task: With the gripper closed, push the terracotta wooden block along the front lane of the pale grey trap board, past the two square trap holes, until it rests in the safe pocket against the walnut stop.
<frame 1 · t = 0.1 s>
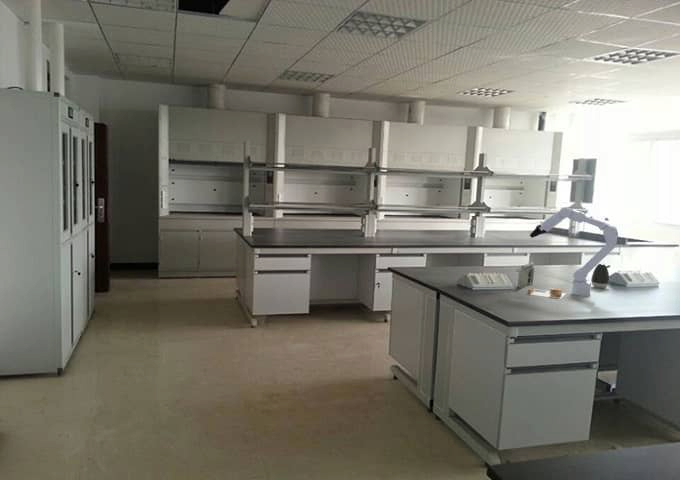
hand: (532, 236, 311), 32 cm above the countertop, tool tilted 50°, fingers open, 7 cm apart
block: (555, 296, 292), point 1 cm above the countertop, touching trap board
geiger counter: (525, 285, 329), on the countertop
trap board: (546, 296, 298), on the countertop
potted cactus: (599, 288, 330), on the countertop
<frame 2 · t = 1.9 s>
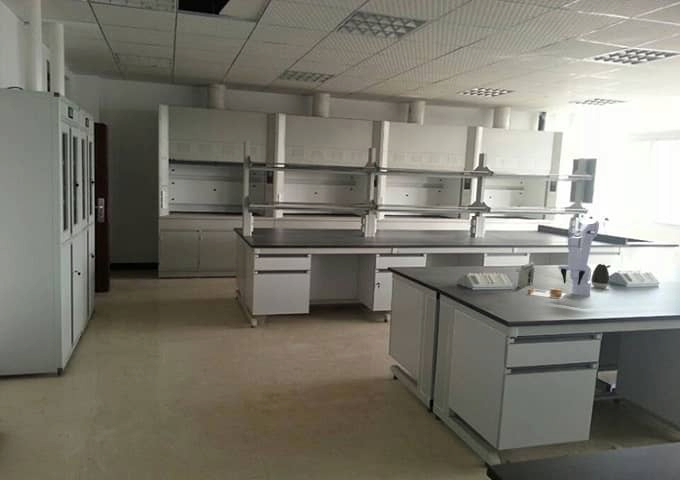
hand: (571, 283, 287), 9 cm above the countertop, tool pointing down, fingers open, 6 cm apart
nothing on the countertop moved.
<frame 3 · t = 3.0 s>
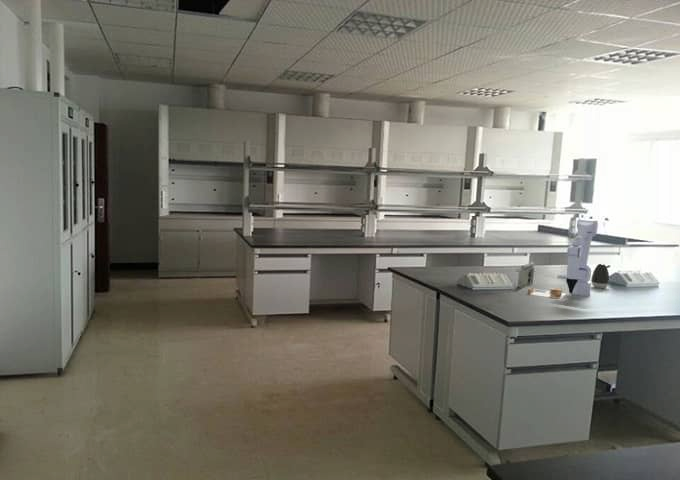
hand: (570, 293, 288), 4 cm above the countertop, tool pointing down, fingers closed
nothing on the countertop moved.
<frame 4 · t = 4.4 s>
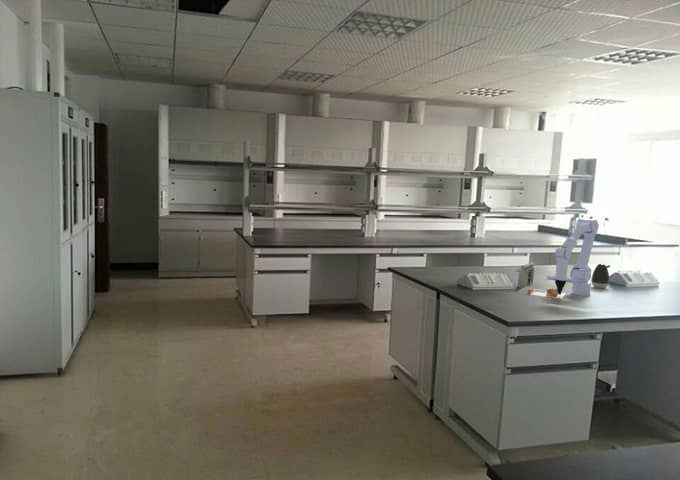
hand: (559, 294, 291), 3 cm above the countertop, tool pointing down, fingers closed
block: (551, 295, 293), point 2 cm above the countertop, touching gripper
everything else where it was.
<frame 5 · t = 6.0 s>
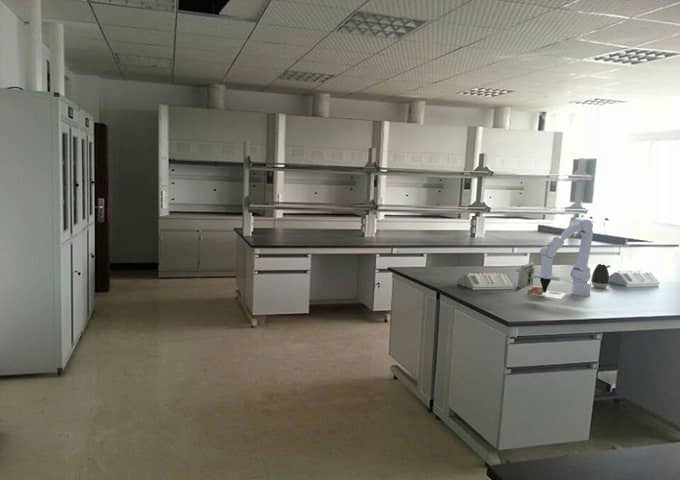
hand: (544, 292, 295), 3 cm above the countertop, tool pointing down, fingers closed
block: (537, 293, 297), point 1 cm above the countertop, touching gripper, trap board
everything else where it was.
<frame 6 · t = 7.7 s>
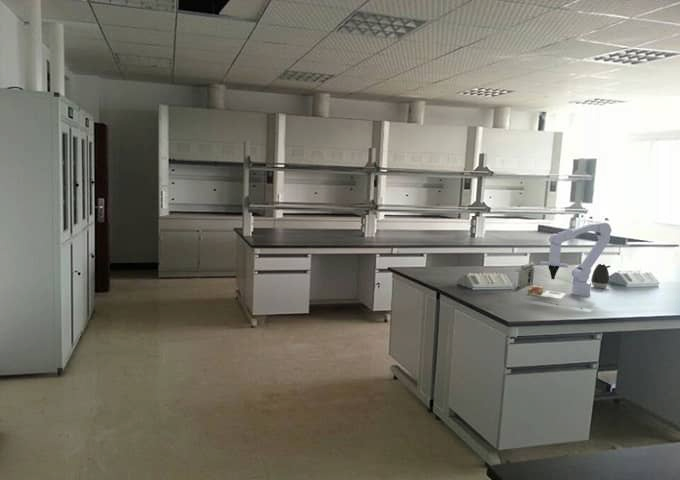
hand: (552, 278, 301), 9 cm above the countertop, tool pointing down, fingers closed
block: (537, 293, 297), point 1 cm above the countertop, touching trap board
everything else where it was.
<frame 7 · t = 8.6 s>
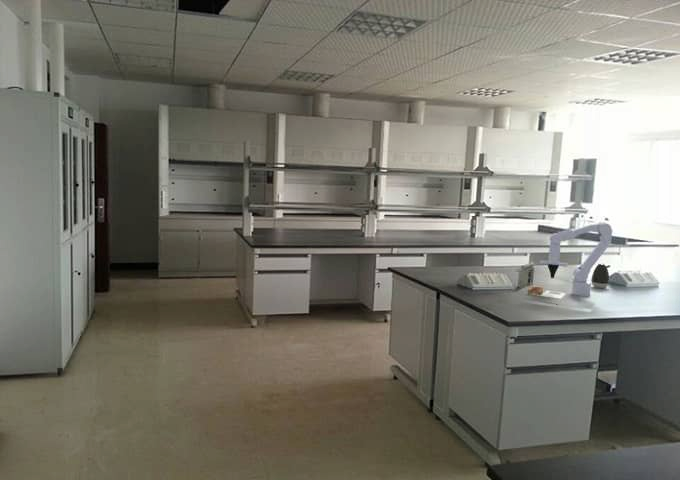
hand: (552, 278, 303), 9 cm above the countertop, tool pointing down, fingers closed
nothing on the countertop moved.
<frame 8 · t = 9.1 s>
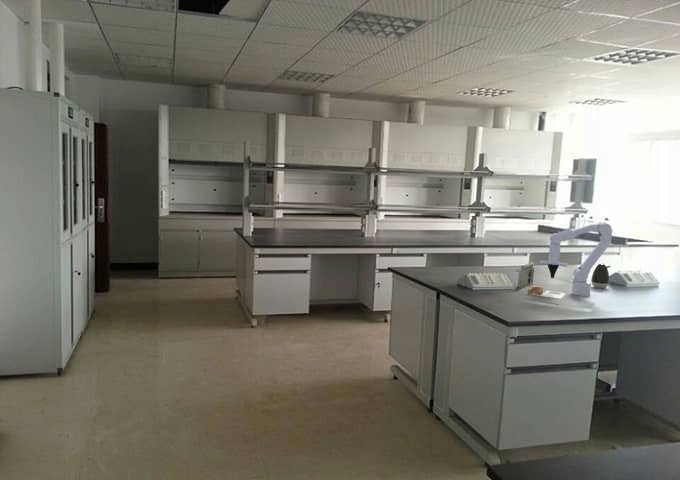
hand: (552, 278, 303), 9 cm above the countertop, tool pointing down, fingers closed
nothing on the countertop moved.
at the end: block 0.7 cm from the target spot on the trap board, point 1.5 cm above the trap board's base; block tilted 0° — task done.
